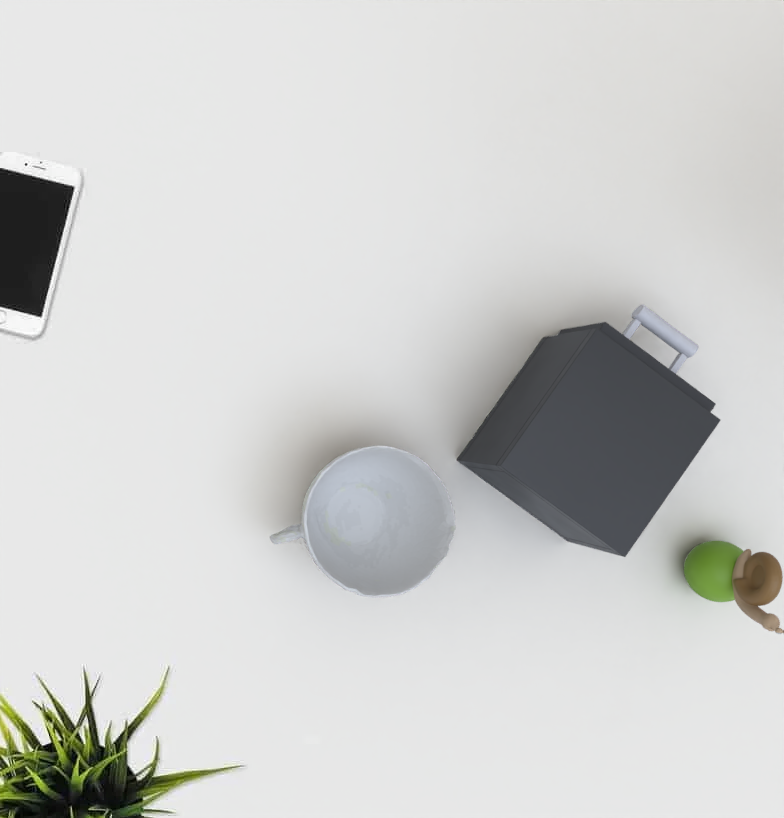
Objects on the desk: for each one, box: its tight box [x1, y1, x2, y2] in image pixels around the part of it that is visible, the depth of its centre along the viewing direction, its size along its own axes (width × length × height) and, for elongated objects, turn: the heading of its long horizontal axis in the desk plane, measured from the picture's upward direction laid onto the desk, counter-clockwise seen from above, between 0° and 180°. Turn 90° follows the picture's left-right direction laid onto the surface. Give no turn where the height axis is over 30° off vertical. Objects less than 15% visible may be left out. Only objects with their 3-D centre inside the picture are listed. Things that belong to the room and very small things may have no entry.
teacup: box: [269, 445, 457, 599], centre depth 86 cm, size 15×12×8 cm
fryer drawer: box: [557, 304, 716, 413], centre depth 86 cm, size 17×12×8 cm
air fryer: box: [456, 328, 721, 558], centre depth 86 cm, size 14×13×10 cm
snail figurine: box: [683, 539, 784, 635], centre depth 86 cm, size 5×6×12 cm
